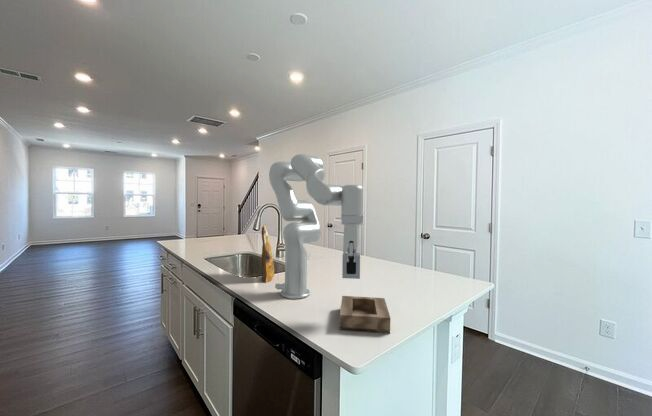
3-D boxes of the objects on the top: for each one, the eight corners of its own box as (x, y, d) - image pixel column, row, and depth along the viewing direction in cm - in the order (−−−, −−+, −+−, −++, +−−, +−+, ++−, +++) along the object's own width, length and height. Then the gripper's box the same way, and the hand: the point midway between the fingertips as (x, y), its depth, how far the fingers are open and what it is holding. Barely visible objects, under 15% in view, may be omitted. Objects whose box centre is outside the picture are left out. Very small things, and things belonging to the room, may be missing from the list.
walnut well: (339, 330, 90) (339, 314, 90) (341, 308, 108) (342, 295, 108) (390, 333, 89) (390, 318, 89) (384, 311, 107) (384, 298, 106)
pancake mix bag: (256, 283, 137) (257, 226, 137) (263, 273, 157) (264, 223, 156) (270, 283, 138) (271, 226, 137) (275, 273, 157) (276, 223, 156)
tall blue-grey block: (342, 278, 97) (342, 255, 97) (343, 274, 101) (343, 252, 101) (359, 278, 96) (360, 255, 96) (359, 275, 101) (360, 253, 101)
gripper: (342, 218, 107) (342, 266, 108) (339, 221, 90) (339, 277, 91) (362, 219, 106) (361, 266, 107) (363, 222, 90) (362, 278, 90)
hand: (351, 271), depth 99 cm, fingers closed on tall blue-grey block, 4 cm apart
